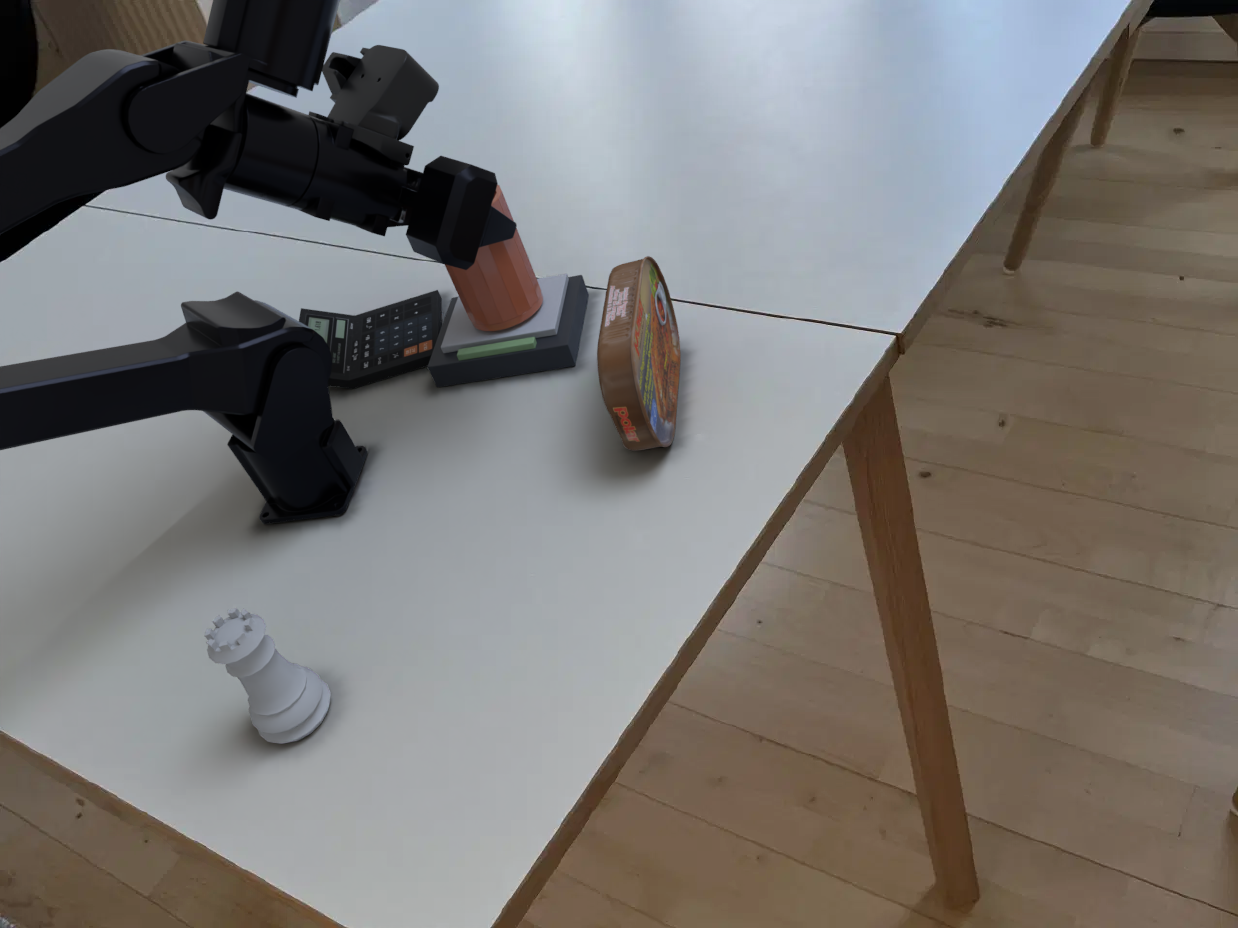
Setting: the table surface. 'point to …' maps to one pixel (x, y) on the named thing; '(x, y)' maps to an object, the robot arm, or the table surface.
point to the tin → (639, 355)
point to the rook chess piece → (268, 678)
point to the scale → (513, 338)
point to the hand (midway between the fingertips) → (487, 221)
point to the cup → (498, 281)
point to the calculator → (378, 339)
